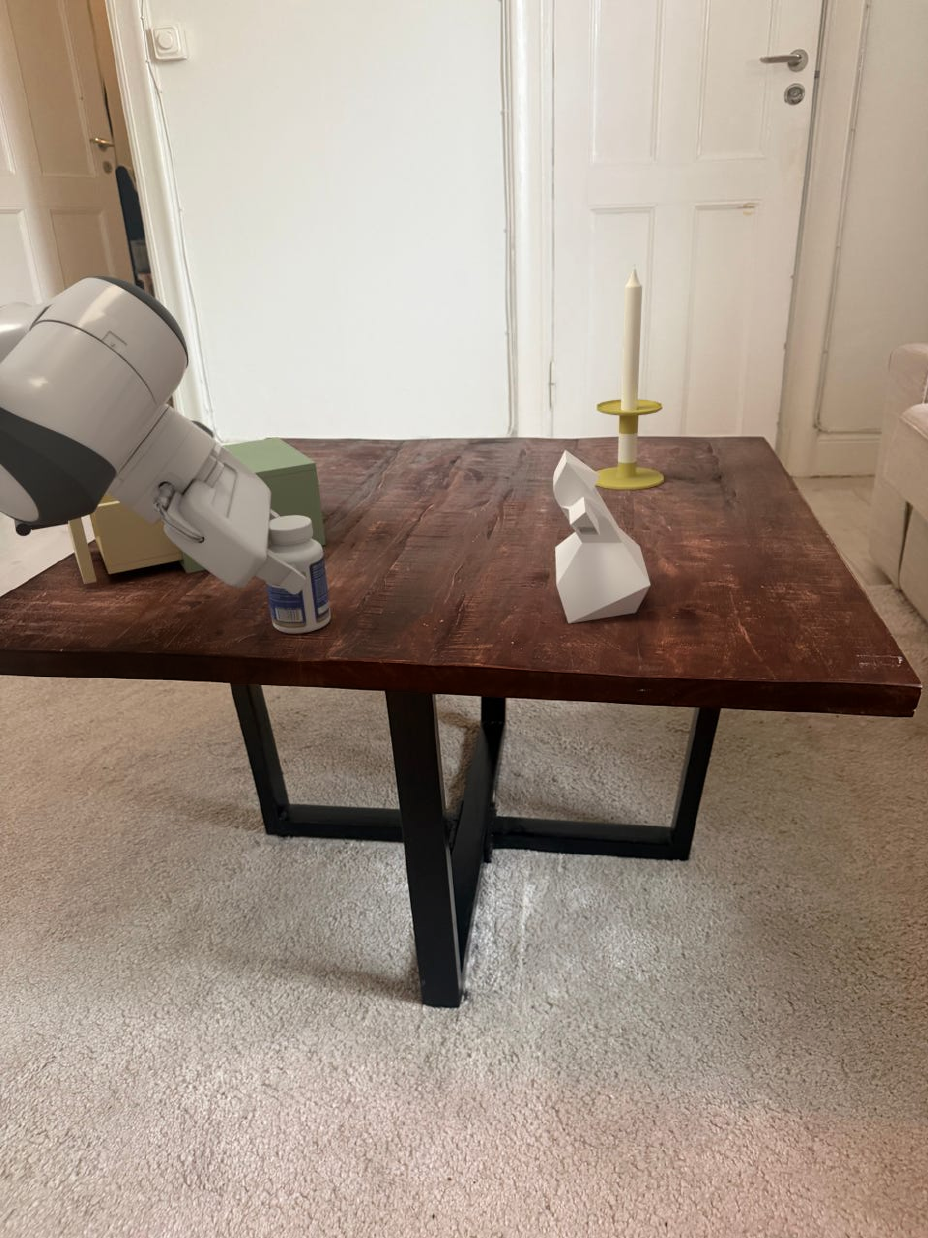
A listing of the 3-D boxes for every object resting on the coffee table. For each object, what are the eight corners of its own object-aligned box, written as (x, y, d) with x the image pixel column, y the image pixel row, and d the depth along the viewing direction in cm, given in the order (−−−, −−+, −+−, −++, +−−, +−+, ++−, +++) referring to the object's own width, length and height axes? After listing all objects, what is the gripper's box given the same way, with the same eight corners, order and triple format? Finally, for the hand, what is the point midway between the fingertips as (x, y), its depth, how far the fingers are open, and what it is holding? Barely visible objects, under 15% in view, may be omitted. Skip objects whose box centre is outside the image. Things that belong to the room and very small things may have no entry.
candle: (583, 471, 121) (586, 263, 110) (654, 467, 121) (664, 259, 110) (596, 491, 112) (600, 268, 101) (672, 487, 112) (686, 263, 101)
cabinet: (186, 573, 92) (169, 486, 88) (162, 535, 104) (146, 456, 100) (325, 545, 98) (315, 462, 94) (288, 511, 110) (277, 437, 106)
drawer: (32, 595, 86) (11, 520, 83) (26, 554, 97) (7, 487, 94) (226, 555, 94) (214, 486, 91) (200, 522, 105) (188, 459, 101)
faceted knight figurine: (636, 568, 88) (641, 434, 82) (651, 629, 75) (659, 475, 69) (552, 569, 89) (552, 436, 83) (554, 629, 76) (553, 477, 70)
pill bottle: (316, 605, 83) (304, 508, 79) (341, 624, 79) (329, 523, 75) (263, 620, 80) (247, 521, 76) (286, 641, 76) (270, 536, 72)
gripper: (175, 474, 62) (328, 585, 67) (201, 417, 80) (320, 507, 86) (123, 539, 63) (278, 643, 69) (161, 468, 81) (280, 554, 87)
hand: (301, 567), depth 77 cm, fingers open, 7 cm apart
